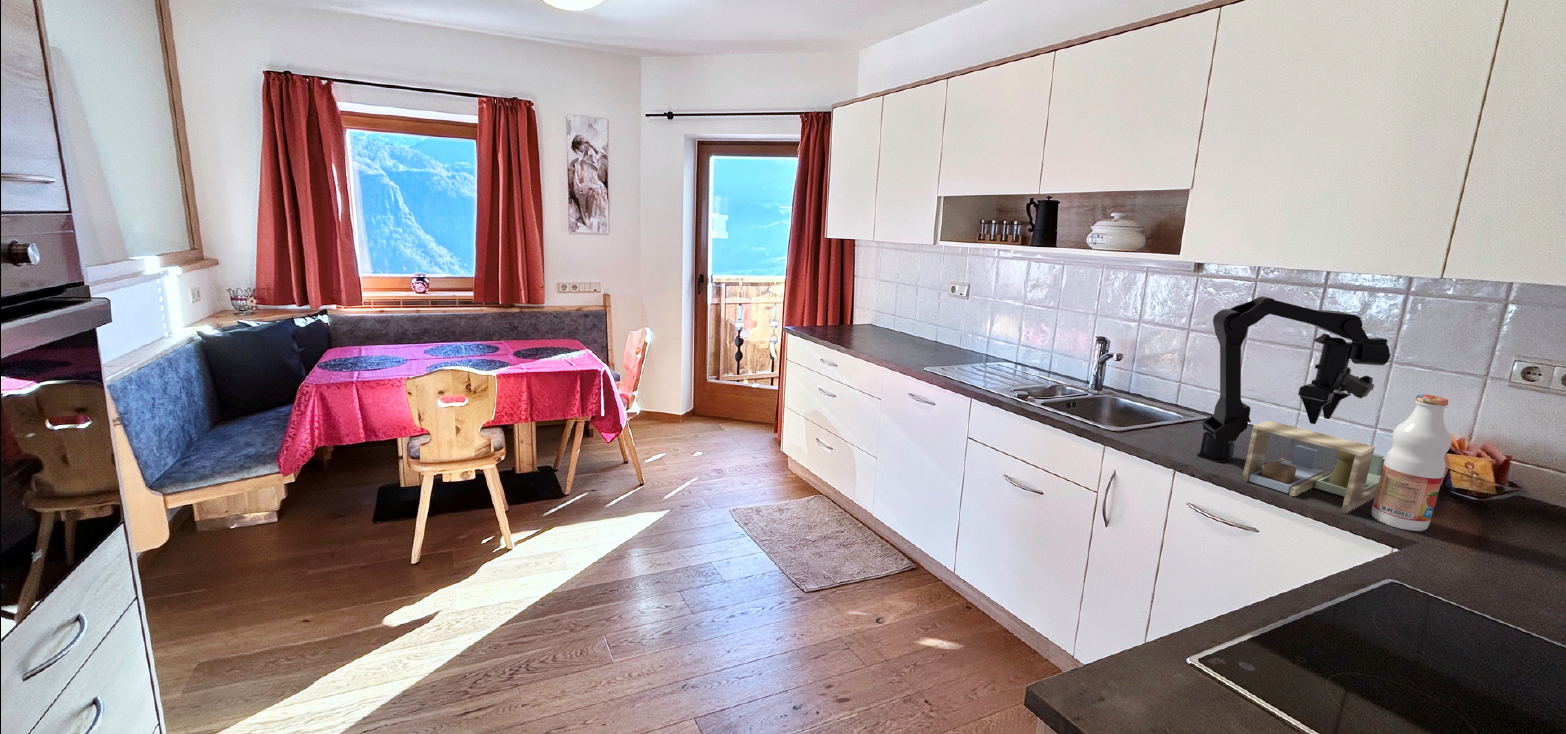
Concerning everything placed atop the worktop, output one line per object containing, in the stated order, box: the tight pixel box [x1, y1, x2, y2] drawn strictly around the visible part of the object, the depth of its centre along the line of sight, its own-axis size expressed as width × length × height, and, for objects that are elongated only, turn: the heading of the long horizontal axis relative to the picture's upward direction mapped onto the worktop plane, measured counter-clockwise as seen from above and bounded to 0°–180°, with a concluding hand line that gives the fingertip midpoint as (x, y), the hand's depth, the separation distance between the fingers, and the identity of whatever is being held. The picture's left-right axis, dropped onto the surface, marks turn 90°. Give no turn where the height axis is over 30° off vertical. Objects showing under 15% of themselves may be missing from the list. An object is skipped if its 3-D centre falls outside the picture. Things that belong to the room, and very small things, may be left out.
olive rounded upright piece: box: [1328, 450, 1355, 488], centre depth 161 cm, size 6×6×11 cm
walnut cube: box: [1262, 460, 1297, 485], centre depth 165 cm, size 5×5×5 cm
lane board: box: [1241, 420, 1378, 514], centre depth 163 cm, size 21×22×14 cm
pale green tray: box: [1314, 453, 1384, 498], centre depth 165 cm, size 8×20×7 cm, turn 124°
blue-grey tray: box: [1248, 444, 1324, 494], centre depth 167 cm, size 8×20×7 cm, turn 124°
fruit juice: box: [1371, 393, 1453, 532], centre depth 144 cm, size 9×9×28 cm
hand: (1319, 421), depth 176 cm, fingers open, 9 cm apart
